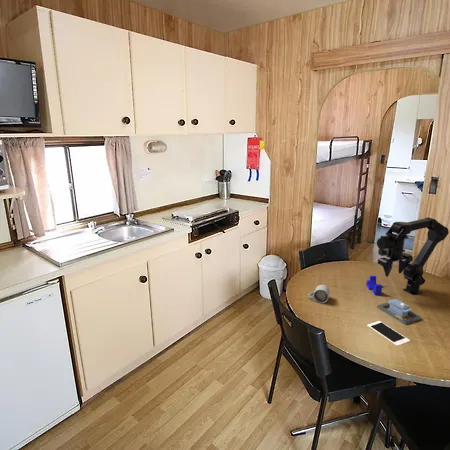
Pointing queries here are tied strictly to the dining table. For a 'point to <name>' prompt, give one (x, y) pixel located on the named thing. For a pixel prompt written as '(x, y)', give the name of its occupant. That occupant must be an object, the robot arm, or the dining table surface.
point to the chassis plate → (407, 321)
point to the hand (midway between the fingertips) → (393, 274)
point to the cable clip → (374, 286)
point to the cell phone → (388, 333)
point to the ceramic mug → (320, 294)
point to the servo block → (399, 308)
